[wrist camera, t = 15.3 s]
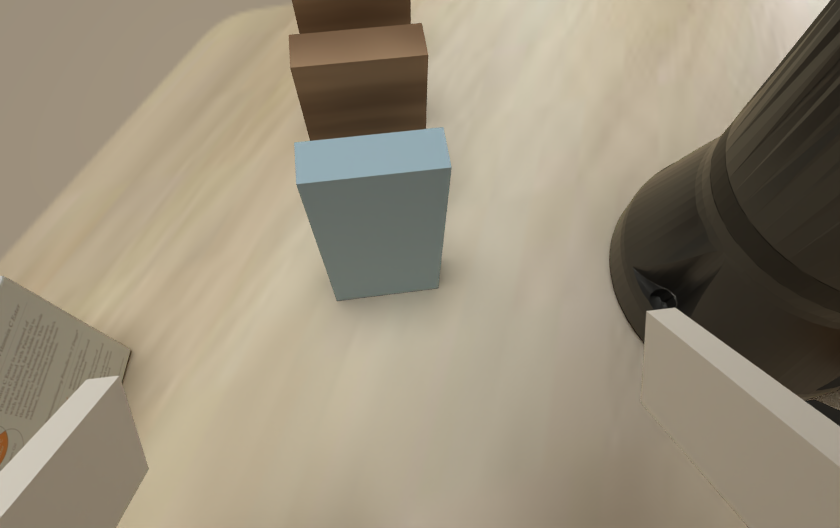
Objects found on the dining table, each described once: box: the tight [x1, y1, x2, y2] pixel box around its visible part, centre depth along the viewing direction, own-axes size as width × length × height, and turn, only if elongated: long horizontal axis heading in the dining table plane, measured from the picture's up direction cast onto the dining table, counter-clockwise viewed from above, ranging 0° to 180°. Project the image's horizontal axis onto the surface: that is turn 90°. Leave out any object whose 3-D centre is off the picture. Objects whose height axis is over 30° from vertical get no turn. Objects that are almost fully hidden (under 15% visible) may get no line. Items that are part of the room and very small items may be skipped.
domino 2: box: [289, 23, 428, 141], centre depth 29 cm, size 2×6×12 cm, turn 98°
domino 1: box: [292, 0, 411, 34], centre depth 31 cm, size 2×6×12 cm, turn 98°
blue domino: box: [294, 127, 451, 301], centre depth 26 cm, size 2×6×12 cm, turn 98°
